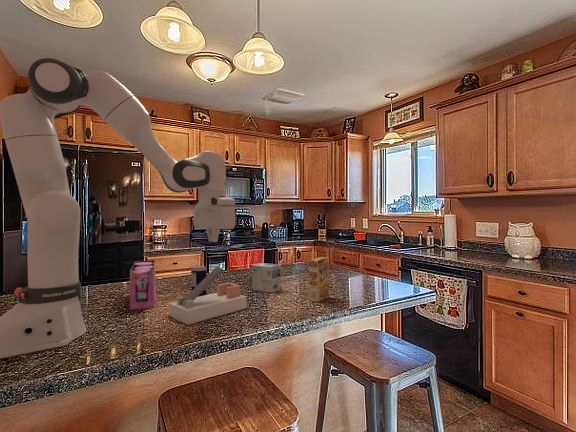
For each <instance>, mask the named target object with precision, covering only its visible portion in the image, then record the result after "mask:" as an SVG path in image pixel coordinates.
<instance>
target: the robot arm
mask: <svg viewBox="0 0 576 432" xmlns="http://www.w3.org/2000/svg"><path fill="white" fill-rule="evenodd" d="M27 83H28V85H29V88H30V89H29V90H28V91H27V92H24V93H16V94H15V93H14V94H10V95H8V96H6V97H4V98H3V99H2V100H1V101H0V125H1V130H2V134H3V138H4V141H5V145H6V150H7V152H8V156H9V159H10V164H11V166H12V170H13V174H14V178H15V180H16V185H17V186H18V187H17V188H18V191H19V196H20V198H21V202H22V205H23V210H24V212H25V216H26V220H27V223H26V224H27V228H26V229H27V284H28V285H27V286H26V287H24V288H23V287H16V288H15V290H13V294H14V295H15V296H16V297H17V300H18V303H17V304H16V305H14V306H13V307H11V308H9V310H8V311H6V312H5V313H4V314H2V315H1V316H0V359H5V358H10V357H14V356H20V355H25V354H29V353H35V352H38V351H43V350H45V351H46V350H49V349H54V348H60V347H65V346H67V345H68V344H71V342H72V341H73V340H76V339H77V338H79V337H81V336H83V335H84V334H85V333H86V332H87V327H86V324H85V322H84V318H83V313H82V309H81V301H82V285H81V281H80V279H79V275H80V273H79V246H80V231H81V207H80V204H79V202H78V201H77V200H76V199H75V198H74V197H73V196H72V195H71V191H70V186H69V182H68V181H69V180H68V176H67V168H66V163H65V160H64V159H65V158H64V156H63V152H62V148H61V145H60V141H59V136H58V134H57V130H56V126H55V120H56V119H59V118H62V117H65V116H68V115H71V114H74V113H75V112H76V111H78V110H79V108H80V107H81V106H84V107H87V108H88V109H91V110H92V111H93V112H95V113H96V114H97V115H98V116H99V117H100V118H101V119H102V120H103V121H104V122H105V123H106V124H107V125H108V126H109V127H111V128H112V129H113V130H114V131H115V132H116V133H117V134H119V136H121V137H122V138H124V139H125V140H126V141H128V143H130V144H131V145H132V146H133V147H134V148H136V150H137V151H139V153H141V155H142V156H144V157H145V158H146V160H147V161H148V162H149V163H150V164H151V165H152V166H153V167H154V168H155V170H157V172H158V173H159V175H160V176H161V179H162V181H163V184H164V185H165V187H166V188H167V189H168V190H170V191H171V192H173V193H178V194H181V193H185V192H188V191H190V190H194V189H198V201H197V203H196V204H195V207H194V210H193V222H192V224H193V227H194V228H201V229H202V228H203V229H205V230H206V235H207V237H208V242H209V243H218V242H219V239H218V238H219V236H220V235H219V234H220V233H221V230H233V229H234V228H235V226H236V208H235V207H234V206H235V205H236V199H235V198H233V197H231V196H229V195H227V189H226V181H227V173H226V172H227V171H226V170H227V169H226V162H225V158H224V157H223V155H222V154H220V153H219V152H217V151H213V150H202V151H201V152H199V153H197V154H196V155H194V156H191V157H188V158H183V159H180V160H178V161H177V160H176V159H174V158H173V157H172V156H171V155H170V154H169V153H168V152H167V150H166V149H164V147H163V146H162V145H161V144H160V143H159V141H158V140H157V139H156V137H155V135H154V131H153V128H152V119H151V116H150V114H149V113H148V111H147V110H146V108H145V106H144V105H143V104H142V103H141V101H139V99H138V98H137V97H136V96H135V94H133V93H132V91H130V90H129V89H128V88H127V87H126V86H125V85H123V83H121V82H120V81H119V80H117V79H116V78H115V77H114V76H112V75H111V74H110V73H108V72H106V71H104V70H99V69H97V70H96V69H95V70H92V71H90V72H88V73H86V74H85V72H84V71H83V70H81V68H76V67H74V66H72V65H69V64H68V63H65V62H64V61H61V60H58V59H57V58H50V57H46V58H40V59H37V60H35V61H34V62H33V63H32V64H31V65H30V67H29V68H28V72H27Z"/></svg>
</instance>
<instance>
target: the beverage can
mask: <svg viewBox="0 0 576 432" xmlns="http://www.w3.org/2000/svg"><path fill="white" fill-rule="evenodd" d="M207 275H208V274H207V268H206V266H205V265H193V266H192V268H191V271H190V276H191V277H190V279H191V283H190V284H191V289H190V290H191V291H192V290H193V289H194V288H195V287H196V286H197V285H198V284H199V283H200V282H201V281H202V280H203V279H204V278H205V277H206V276H207ZM204 295H208V286H207V287H206V288H205V290H204V291H203V292H202V293H201V294H200V295H199V296H198V297H200V296H204Z"/></svg>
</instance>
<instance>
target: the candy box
mask: <svg viewBox="0 0 576 432" xmlns="http://www.w3.org/2000/svg"><path fill="white" fill-rule="evenodd" d="M329 262H330V261H329V257H324V256H318V257H316V258H312V259H308V288H309V289H308V290H309V291H308V292H309V299H308V300H309V302H316V303H319V302H322V301H323V300H325V299H328V298H329V297H330V282H329V281H330V280H329V279H330V277H329V276H330V273H329V270H330V269H329V268H330V266H329ZM327 297H328V298H327Z"/></svg>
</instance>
